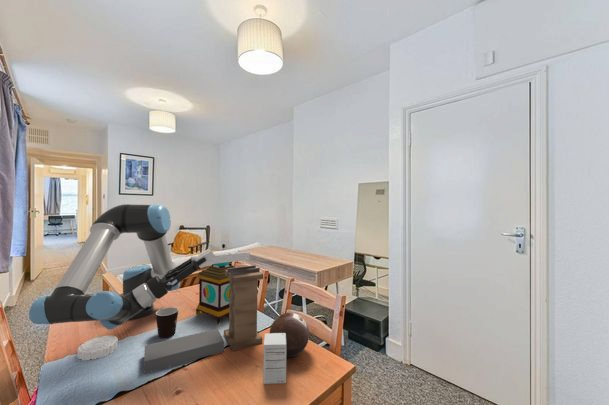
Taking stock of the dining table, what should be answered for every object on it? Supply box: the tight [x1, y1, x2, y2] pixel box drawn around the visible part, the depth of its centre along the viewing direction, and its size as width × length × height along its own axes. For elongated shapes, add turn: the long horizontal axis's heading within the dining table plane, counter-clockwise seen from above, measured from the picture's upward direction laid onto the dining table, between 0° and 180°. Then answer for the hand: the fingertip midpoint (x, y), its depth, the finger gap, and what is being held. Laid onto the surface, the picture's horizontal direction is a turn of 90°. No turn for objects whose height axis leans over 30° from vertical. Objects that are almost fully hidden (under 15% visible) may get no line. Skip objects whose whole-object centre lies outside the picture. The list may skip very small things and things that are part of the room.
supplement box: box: [262, 332, 287, 385], centre depth 86 cm, size 7×7×13 cm
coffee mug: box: [155, 306, 179, 339], centre depth 112 cm, size 12×9×10 cm
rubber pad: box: [143, 328, 225, 374], centre depth 97 cm, size 11×26×4 cm, turn 121°
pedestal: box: [223, 264, 264, 352], centre depth 108 cm, size 14×12×30 cm
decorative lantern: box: [195, 262, 236, 324], centre depth 132 cm, size 20×20×30 cm
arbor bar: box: [190, 250, 251, 266], centre depth 104 cm, size 3×22×3 cm, turn 121°
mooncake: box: [76, 334, 119, 361], centre depth 98 cm, size 12×12×4 cm
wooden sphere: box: [269, 312, 310, 358], centre depth 98 cm, size 15×15×15 cm
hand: (211, 252), depth 102 cm, fingers closed on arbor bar, 3 cm apart
